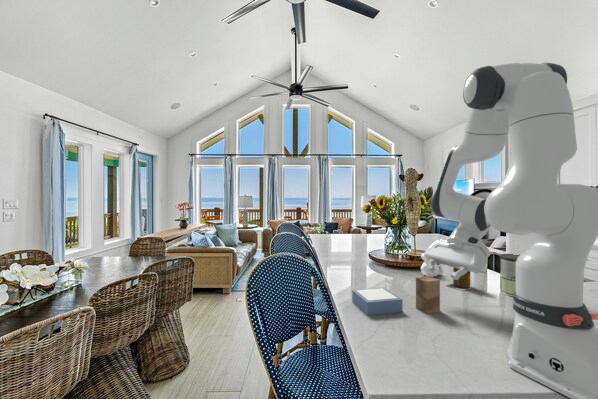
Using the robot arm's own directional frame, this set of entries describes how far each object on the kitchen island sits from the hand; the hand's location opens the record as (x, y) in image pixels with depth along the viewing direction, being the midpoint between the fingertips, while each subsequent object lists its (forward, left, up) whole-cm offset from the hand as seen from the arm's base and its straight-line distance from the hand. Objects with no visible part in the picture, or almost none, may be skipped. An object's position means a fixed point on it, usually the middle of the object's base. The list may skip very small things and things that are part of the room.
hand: (441, 274), depth 94 cm
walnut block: (-1, +6, -11) cm, 12 cm away
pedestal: (+5, +21, -11) cm, 24 cm away
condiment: (+17, -22, -11) cm, 30 cm away
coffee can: (+5, -36, -11) cm, 38 cm away
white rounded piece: (+35, -21, -11) cm, 42 cm away
